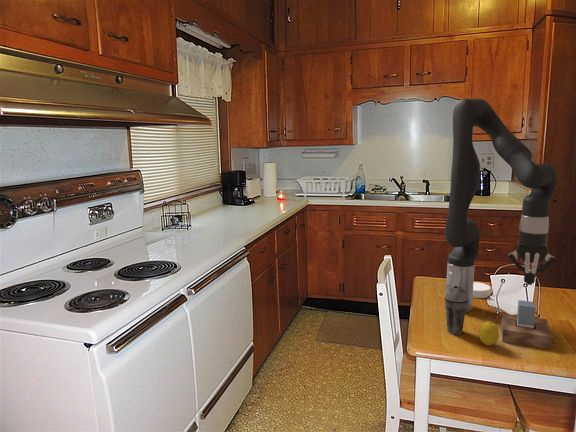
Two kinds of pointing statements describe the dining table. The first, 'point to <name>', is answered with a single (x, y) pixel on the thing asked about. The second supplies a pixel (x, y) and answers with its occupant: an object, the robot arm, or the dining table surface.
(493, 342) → the lemon
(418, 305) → the dining table surface
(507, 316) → the board
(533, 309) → the peg
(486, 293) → the white shallow cylinder
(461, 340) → the dining table surface
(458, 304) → the beverage cup
